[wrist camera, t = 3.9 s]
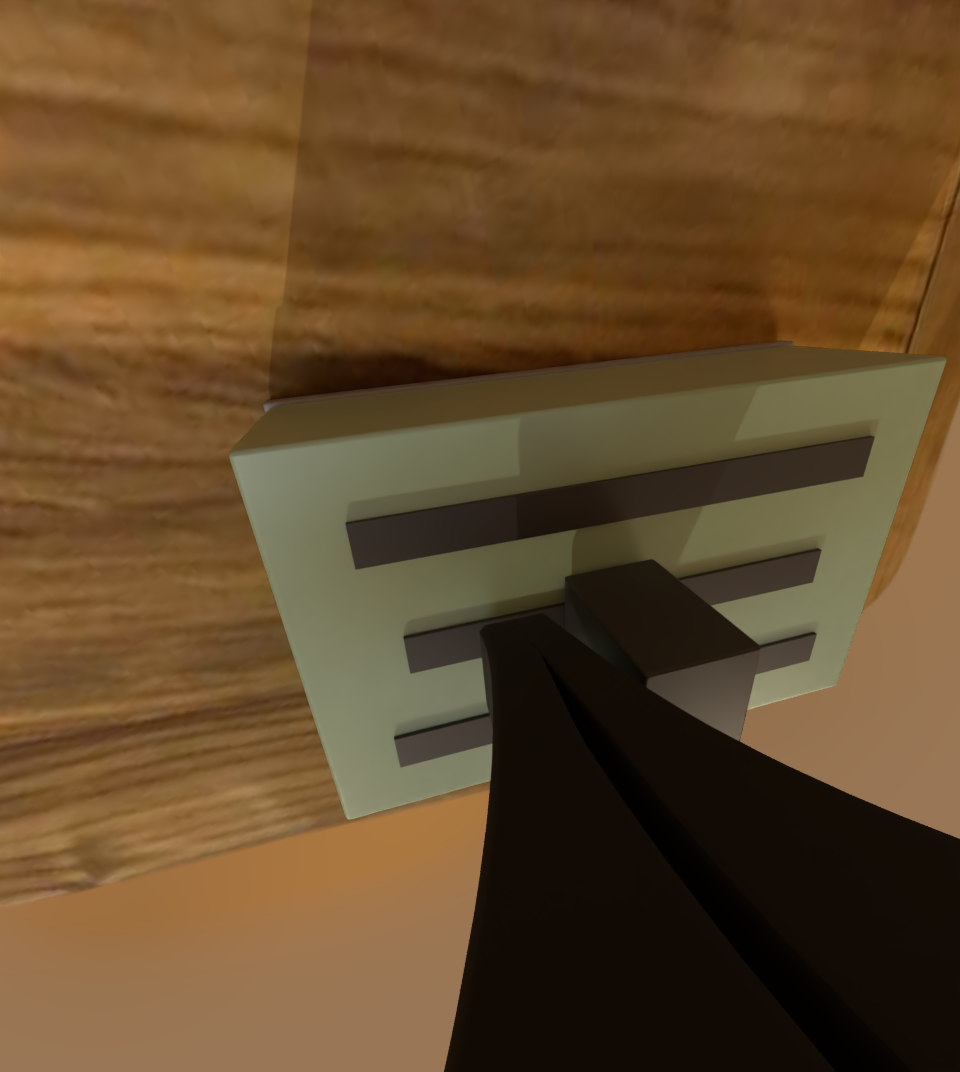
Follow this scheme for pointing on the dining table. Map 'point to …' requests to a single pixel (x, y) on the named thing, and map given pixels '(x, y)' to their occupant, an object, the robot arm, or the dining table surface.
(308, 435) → the green slab
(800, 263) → the dining table surface
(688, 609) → the slider
